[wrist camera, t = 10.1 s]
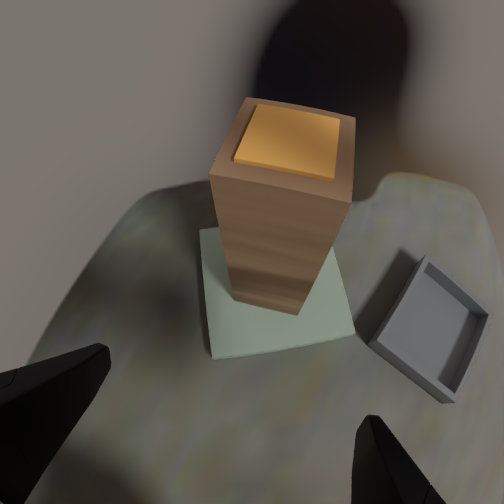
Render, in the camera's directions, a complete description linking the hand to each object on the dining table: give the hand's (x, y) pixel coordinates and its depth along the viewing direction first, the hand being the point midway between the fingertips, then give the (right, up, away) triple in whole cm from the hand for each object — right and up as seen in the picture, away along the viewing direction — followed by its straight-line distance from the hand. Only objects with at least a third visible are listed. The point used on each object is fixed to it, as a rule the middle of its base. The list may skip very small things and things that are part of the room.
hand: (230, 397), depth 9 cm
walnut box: (+2, +3, +13) cm, 13 cm away
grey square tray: (+15, -2, +12) cm, 19 cm away
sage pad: (+2, +2, +14) cm, 14 cm away
